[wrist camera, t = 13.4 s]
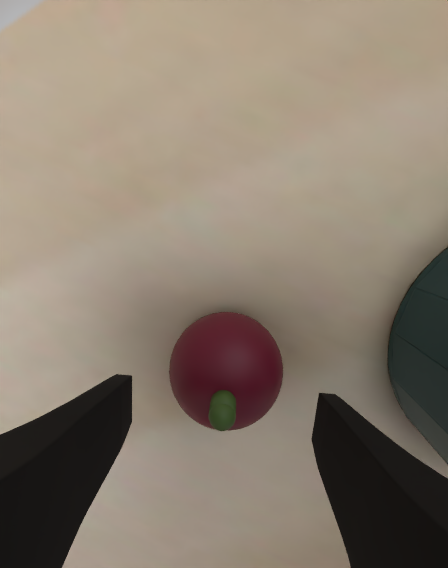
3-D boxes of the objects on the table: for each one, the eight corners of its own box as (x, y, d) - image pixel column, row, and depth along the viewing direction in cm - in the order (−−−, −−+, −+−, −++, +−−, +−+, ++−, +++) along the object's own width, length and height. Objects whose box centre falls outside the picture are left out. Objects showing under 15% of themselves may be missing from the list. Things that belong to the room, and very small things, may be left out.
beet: (226, 403, 17) (219, 513, 11) (162, 341, 17) (113, 419, 10) (294, 347, 16) (332, 431, 10) (230, 279, 16) (224, 320, 9)
